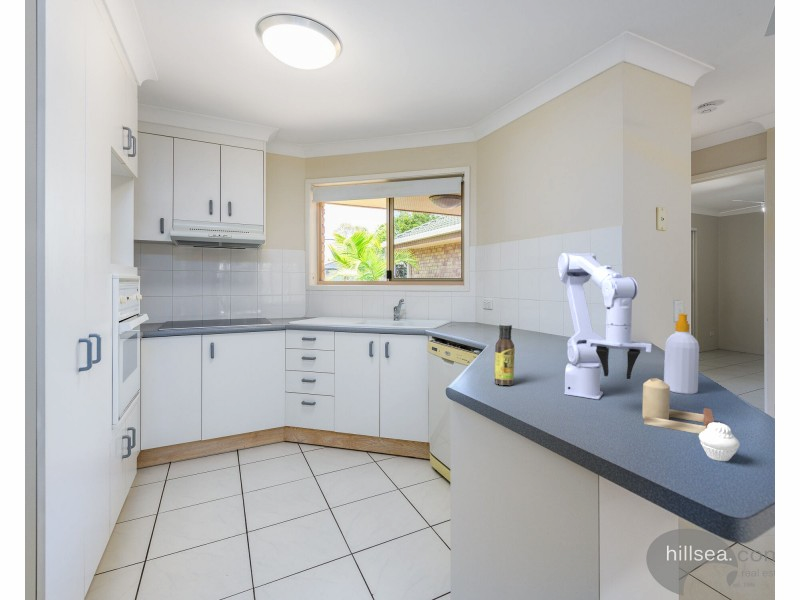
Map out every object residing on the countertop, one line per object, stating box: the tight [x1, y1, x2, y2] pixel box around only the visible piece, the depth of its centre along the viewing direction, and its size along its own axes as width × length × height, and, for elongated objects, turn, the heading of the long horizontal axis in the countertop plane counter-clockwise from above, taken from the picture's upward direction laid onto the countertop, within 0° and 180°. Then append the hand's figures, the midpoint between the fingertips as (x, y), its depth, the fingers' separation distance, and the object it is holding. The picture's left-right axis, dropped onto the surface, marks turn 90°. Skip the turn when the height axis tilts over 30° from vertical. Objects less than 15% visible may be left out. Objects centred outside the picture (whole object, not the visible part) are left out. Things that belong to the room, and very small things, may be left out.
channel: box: [643, 407, 715, 435], centre depth 94 cm, size 13×11×3 cm
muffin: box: [698, 421, 740, 462], centre depth 76 cm, size 6×6×7 cm
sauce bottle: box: [493, 323, 515, 386], centre depth 130 cm, size 6×6×20 cm
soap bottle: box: [663, 312, 700, 395], centre depth 122 cm, size 9×9×24 cm
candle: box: [641, 377, 671, 420], centre depth 97 cm, size 6×6×10 cm
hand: (617, 376), depth 102 cm, fingers open, 4 cm apart
